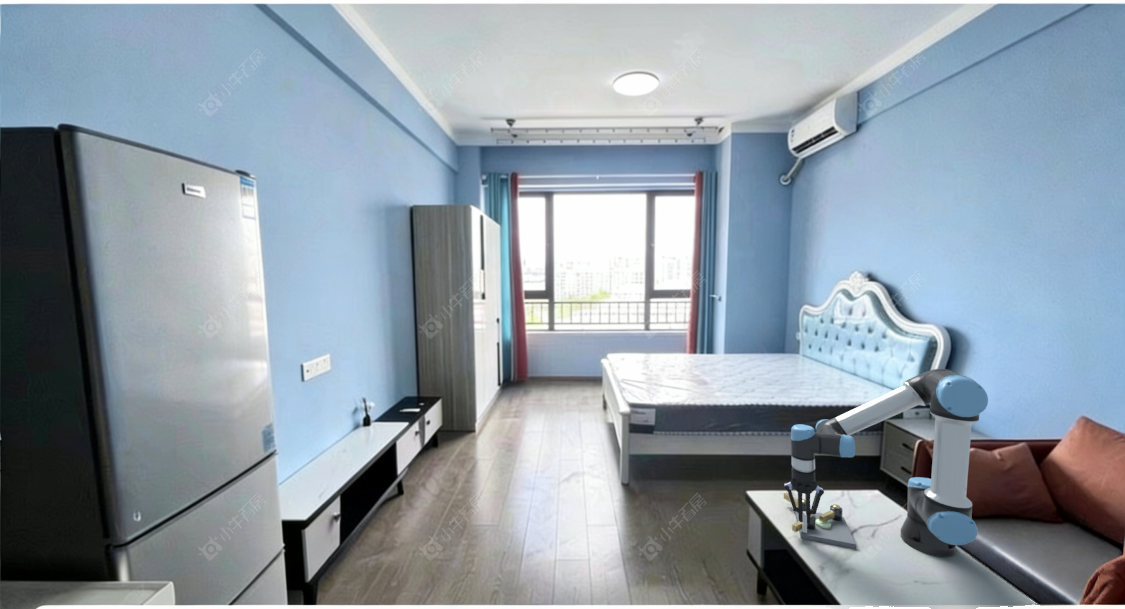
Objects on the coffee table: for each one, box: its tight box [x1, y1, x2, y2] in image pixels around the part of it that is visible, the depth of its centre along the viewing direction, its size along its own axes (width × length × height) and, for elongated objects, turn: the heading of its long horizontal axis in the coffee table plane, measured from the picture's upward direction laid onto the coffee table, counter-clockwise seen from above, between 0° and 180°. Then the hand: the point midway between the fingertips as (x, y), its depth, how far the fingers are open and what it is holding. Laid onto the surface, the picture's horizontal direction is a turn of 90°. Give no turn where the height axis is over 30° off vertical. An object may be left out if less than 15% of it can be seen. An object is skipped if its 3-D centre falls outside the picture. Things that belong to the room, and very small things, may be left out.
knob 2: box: [791, 514, 816, 533], centre depth 157 cm, size 12×4×5 cm, turn 119°
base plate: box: [794, 511, 857, 549], centre depth 160 cm, size 17×18×3 cm
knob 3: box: [819, 503, 843, 523], centre depth 162 cm, size 12×4×5 cm, turn 116°
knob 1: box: [783, 492, 806, 512], centre depth 172 cm, size 12×4×5 cm, turn 17°
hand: (804, 530), depth 154 cm, fingers closed
